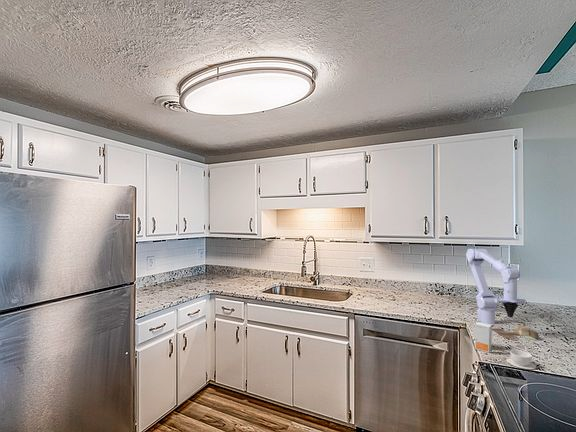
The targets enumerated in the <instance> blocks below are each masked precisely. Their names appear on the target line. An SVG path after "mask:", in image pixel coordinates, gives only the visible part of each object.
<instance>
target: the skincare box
mask: <svg viewBox="0 0 576 432" xmlns="http://www.w3.org/2000/svg"><path fill="white" fill-rule="evenodd" d="M492 329H493V324H486V323H482V322H481V321H480V322H479V321H476V323H475V324H474V350H477V351H481V352H485V353H487V354H490V352H491V351H492V341H493V340H492V338H493V337H492V336H493V335H492V334H493V333H492V332H493V330H492Z"/></svg>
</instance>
